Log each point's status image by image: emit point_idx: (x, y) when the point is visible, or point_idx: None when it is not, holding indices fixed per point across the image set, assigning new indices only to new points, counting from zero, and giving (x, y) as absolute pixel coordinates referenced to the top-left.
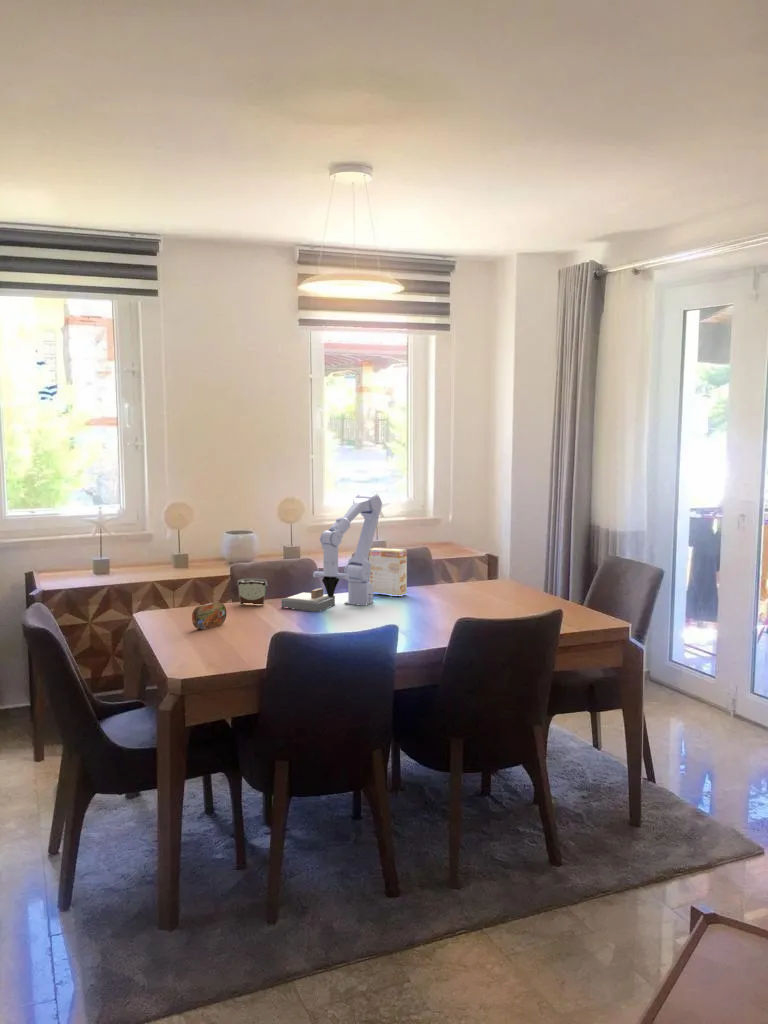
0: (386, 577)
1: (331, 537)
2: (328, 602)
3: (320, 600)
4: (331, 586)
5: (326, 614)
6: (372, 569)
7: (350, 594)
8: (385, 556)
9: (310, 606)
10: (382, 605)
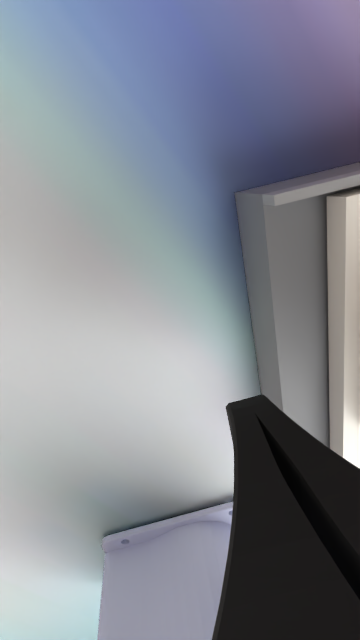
0: None
1: None
2: (274, 395)
3: (329, 343)
4: (247, 522)
5: (77, 144)
6: None
7: (222, 584)
8: None
9: (333, 171)
10: (43, 590)
